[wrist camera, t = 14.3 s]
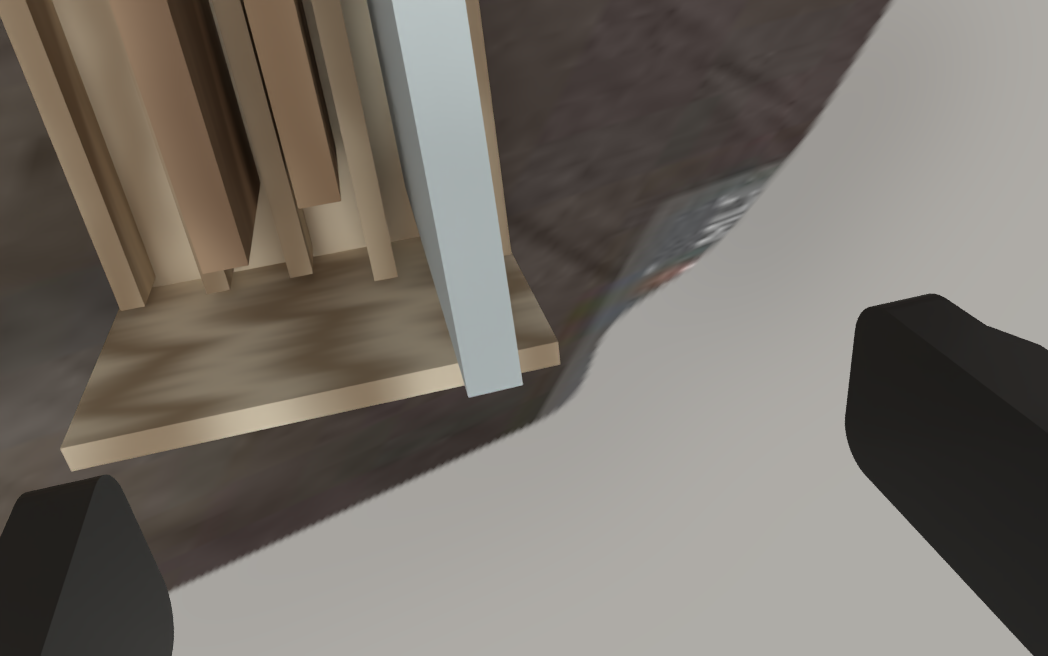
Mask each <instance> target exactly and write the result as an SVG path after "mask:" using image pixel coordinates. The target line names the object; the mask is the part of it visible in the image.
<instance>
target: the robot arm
mask: <svg viewBox="0 0 1048 656" xmlns="http://www.w3.org/2000/svg"><path fill="white" fill-rule="evenodd" d="M845 430H846V436H847V440H848V444H849V447H850V450H851V452H852V455H853V457H854V459H855V461H856V462H857V465H858V466H859V468H860V469H861V470H862V472H863V473H864V474H865V475H866V476H867V477H868V478H869V480H870V481H872V482H873V484H874V485H875V486H876V487H877V488H878V489H879V490H880V491H881V492H882V493H883V495H884V496H885V497H886V498H887V499H888V500H889V501H890V502H891V503H892V504H893V505H894V506H895V507H896V508H897V509H898V511H899V512H900V513H901V514H902V515H903V516H904V517H905V518H906V519H907V520H908V521H909V523H910V524H911V525H912V526H913V527H914V528H915V529H916V530H917V531H918V532H919V533H920V534H921V535H922V536H923V538H925V540H926V541H927V542H928V543H929V544H930V545H931V546H932V547H933V548H934V549H935V550H936V551H937V553H938V554H939V555H940V556H941V557H942V558H943V559H944V560H945V561H946V562H947V563H948V564H949V565H950V567H951V568H952V569H953V570H954V571H955V572H956V573H957V574H958V575H959V576H960V577H961V578H962V579H963V581H964V582H965V583H966V584H967V585H968V586H969V587H970V588H971V589H972V590H973V591H974V592H975V593H976V595H977V596H978V597H979V598H980V599H981V600H982V601H983V602H984V603H985V604H986V605H987V606H988V607H989V608H990V610H991V611H992V612H993V613H994V614H995V615H996V616H997V617H998V618H999V619H1000V620H1001V621H1002V622H1003V624H1004V625H1006V627H1007V628H1008V629H1009V630H1010V631H1011V632H1012V633H1013V634H1014V635H1015V636H1016V637H1017V638H1018V639H1019V641H1020V642H1021V643H1022V644H1023V645H1024V646H1025V647H1026V648H1027V649H1028V650H1029V651H1030V653H1032V655H1033V656H1048V350H1047V349H1045V348H1044V347H1042V346H1041V345H1038V344H1036V343H1033V342H1030V341H1028V340H1025V339H1022V338H1019V337H1017V336H1014V335H1011V334H1008V333H1006V332H1003V331H1000V330H998V329H995V328H992V327H989V326H986V325H985V324H983V323H982V322H980V321H979V320H977V319H976V318H974V317H973V316H971V315H970V314H968V313H967V312H965V311H964V310H962V309H961V308H959V307H958V306H956V305H955V304H953V303H952V302H950V301H949V300H947V299H946V298H944V297H942V296H940V295H937V294H926V295H921V296H917V297H912V298H908V299H903V300H899V301H895V302H890V303H886V304H881V305H877V306H872V307H868V308H867V309H865V310H863V312H862V313H861V314H860V316H859V318H858V320H857V323H856V328H855V336H854V344H853V353H852V362H851V372H850V379H849V388H848V398H847V406H846V414H845ZM173 641H174V626H173V614H172V607H171V602H170V598H169V594H168V590H167V587H166V585H165V582H164V580H163V577H162V575H161V573H160V571H159V569H158V566H157V564H156V562H155V560H154V558H153V556H152V553H151V551H150V549H149V547H148V545H147V542H146V540H145V538H144V536H143V534H142V532H141V529H140V527H139V525H138V523H137V521H136V518H135V516H134V514H133V512H132V510H131V507H130V505H129V503H128V501H127V499H126V497H125V494H124V492H123V490H122V488H121V487H120V485H119V484H118V482H117V481H116V480H115V479H114V478H113V477H111V476H110V475H102V476H98V477H93V478H89V479H84V480H80V481H75V482H71V483H66V484H62V485H57V486H53V487H48V488H44V489H39V490H35V491H30V492H26V493H24V494H22V495H21V496H20V497H19V498H18V500H17V502H16V503H15V505H14V507H13V510H12V512H11V514H10V517H9V519H8V521H7V523H6V526H5V528H4V530H3V533H2V535H1V537H0V656H172V650H173Z"/></svg>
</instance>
